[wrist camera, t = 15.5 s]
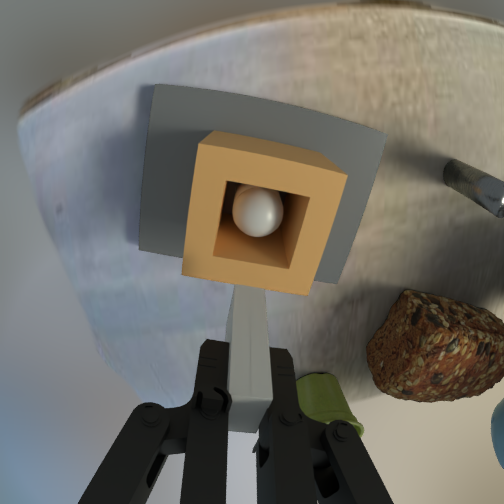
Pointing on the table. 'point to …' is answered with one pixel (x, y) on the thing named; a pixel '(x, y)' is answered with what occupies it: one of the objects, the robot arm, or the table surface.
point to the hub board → (253, 121)
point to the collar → (289, 231)
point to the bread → (436, 349)
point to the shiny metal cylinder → (476, 186)
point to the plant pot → (325, 400)
